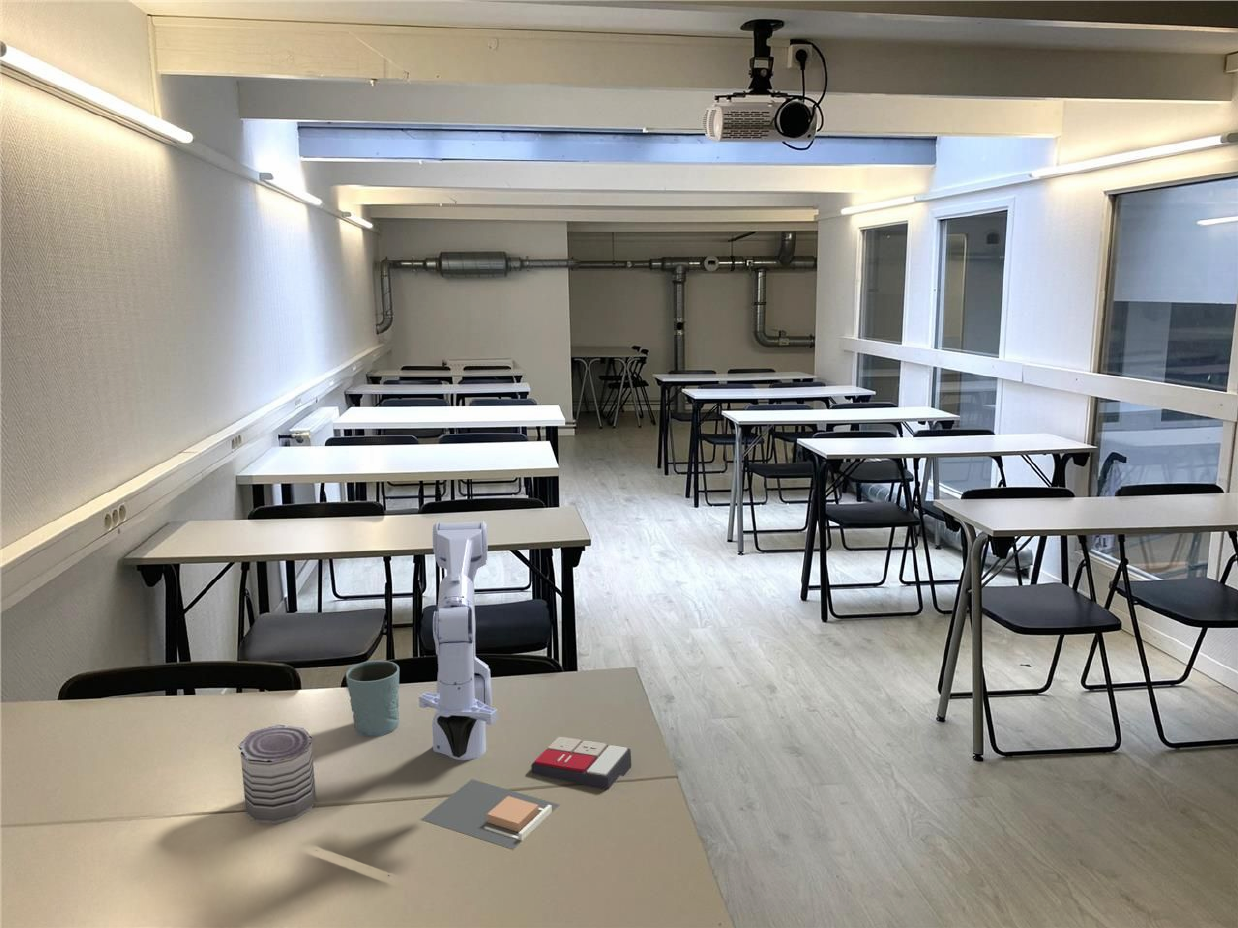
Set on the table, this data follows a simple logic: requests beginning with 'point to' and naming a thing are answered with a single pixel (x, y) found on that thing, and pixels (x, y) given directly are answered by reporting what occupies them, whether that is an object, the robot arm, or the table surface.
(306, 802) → the can
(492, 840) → the mat
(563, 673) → the table surface
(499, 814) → the tile
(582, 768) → the calculator
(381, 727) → the green cup
